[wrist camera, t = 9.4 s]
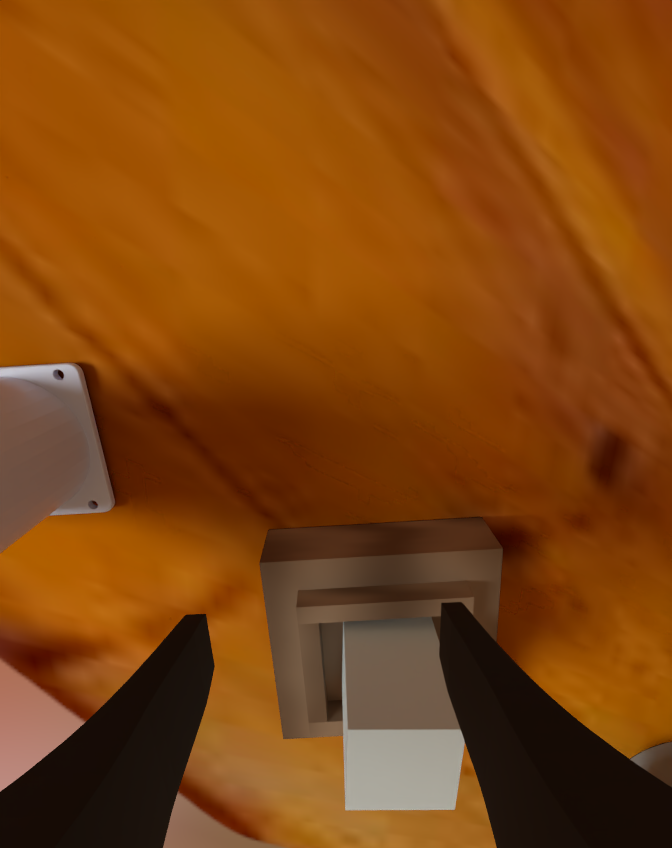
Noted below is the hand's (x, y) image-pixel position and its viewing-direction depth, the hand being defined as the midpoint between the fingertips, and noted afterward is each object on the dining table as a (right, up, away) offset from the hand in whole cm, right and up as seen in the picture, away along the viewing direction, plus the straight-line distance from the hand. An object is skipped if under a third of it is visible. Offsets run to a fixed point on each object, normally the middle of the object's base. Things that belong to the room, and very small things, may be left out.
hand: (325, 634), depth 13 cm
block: (+3, -5, +9) cm, 11 cm away
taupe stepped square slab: (+3, -5, +12) cm, 14 cm away
